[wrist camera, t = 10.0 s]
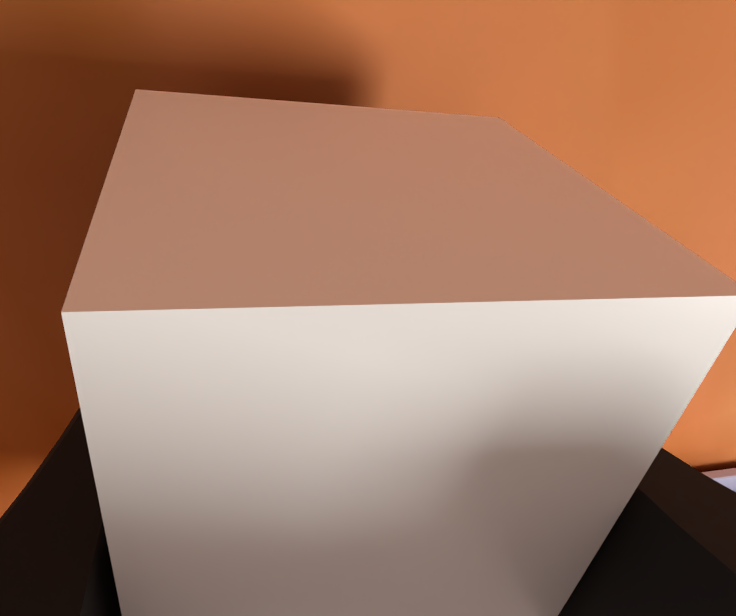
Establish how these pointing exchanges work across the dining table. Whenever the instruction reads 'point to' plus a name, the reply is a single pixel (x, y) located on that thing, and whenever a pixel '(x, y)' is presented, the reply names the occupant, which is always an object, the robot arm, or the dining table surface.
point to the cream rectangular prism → (369, 360)
